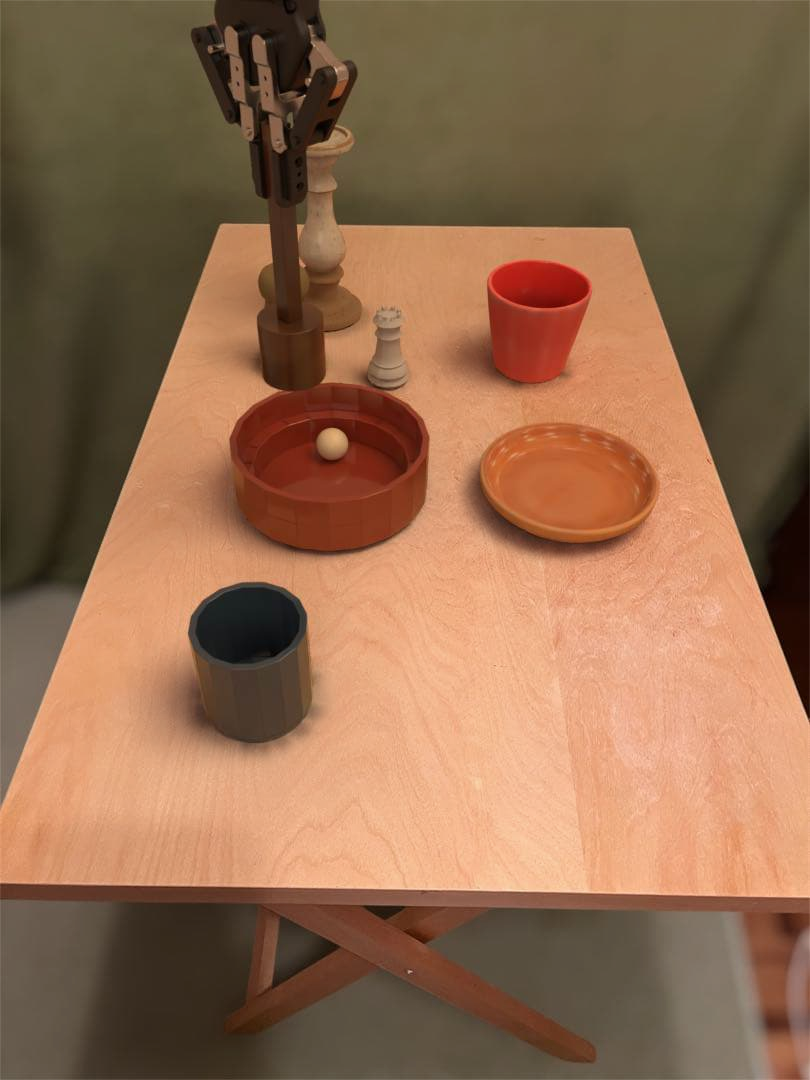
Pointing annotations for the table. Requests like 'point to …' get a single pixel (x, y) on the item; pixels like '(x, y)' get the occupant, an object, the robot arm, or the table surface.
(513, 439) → the saucer
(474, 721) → the table surface
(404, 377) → the rook chess piece
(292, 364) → the wooden pestle
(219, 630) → the crock
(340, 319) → the candle holder
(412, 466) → the bowl
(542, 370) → the flower pot
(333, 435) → the dough ball
